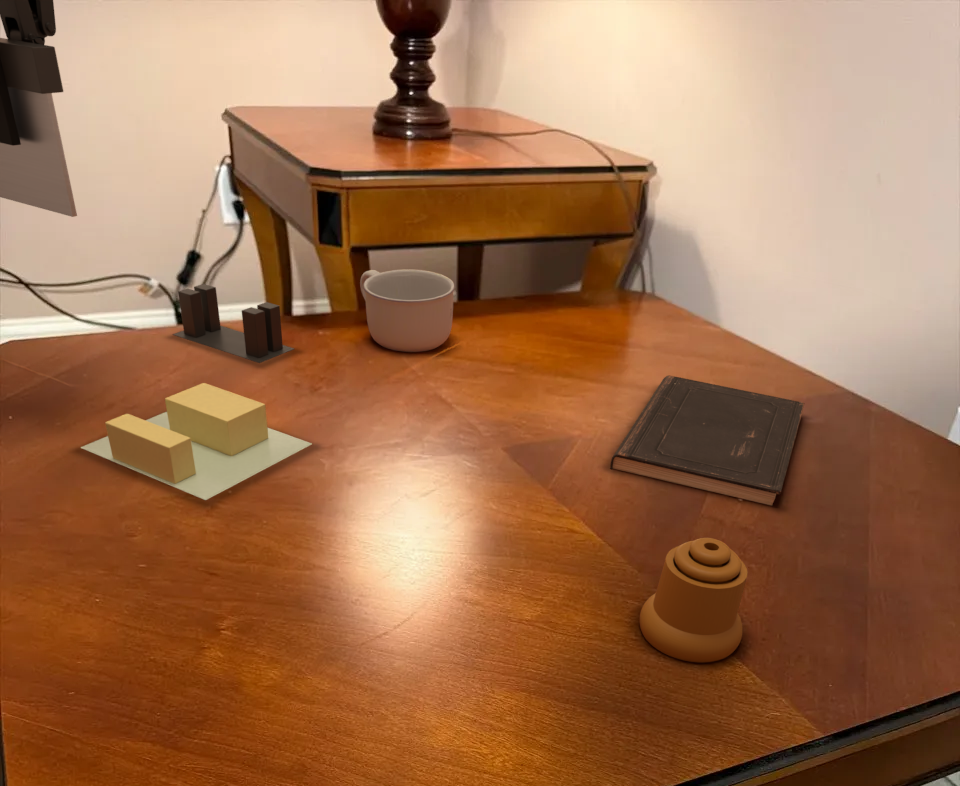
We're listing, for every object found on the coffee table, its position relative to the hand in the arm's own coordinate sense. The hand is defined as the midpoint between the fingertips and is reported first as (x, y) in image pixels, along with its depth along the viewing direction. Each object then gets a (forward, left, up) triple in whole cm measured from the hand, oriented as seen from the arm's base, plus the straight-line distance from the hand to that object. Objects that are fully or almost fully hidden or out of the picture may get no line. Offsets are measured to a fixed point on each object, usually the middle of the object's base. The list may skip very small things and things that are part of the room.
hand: (20, 140), depth 72 cm
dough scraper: (0, 0, -5) cm, 5 cm away
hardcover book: (+54, +35, -25) cm, 69 cm away
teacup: (+12, +38, -25) cm, 47 cm away
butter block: (+15, +4, -23) cm, 28 cm away
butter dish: (+15, +1, -24) cm, 29 cm away
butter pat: (+15, -4, -23) cm, 28 cm away
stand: (-2, +23, -24) cm, 34 cm away
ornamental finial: (+64, +2, -25) cm, 69 cm away
